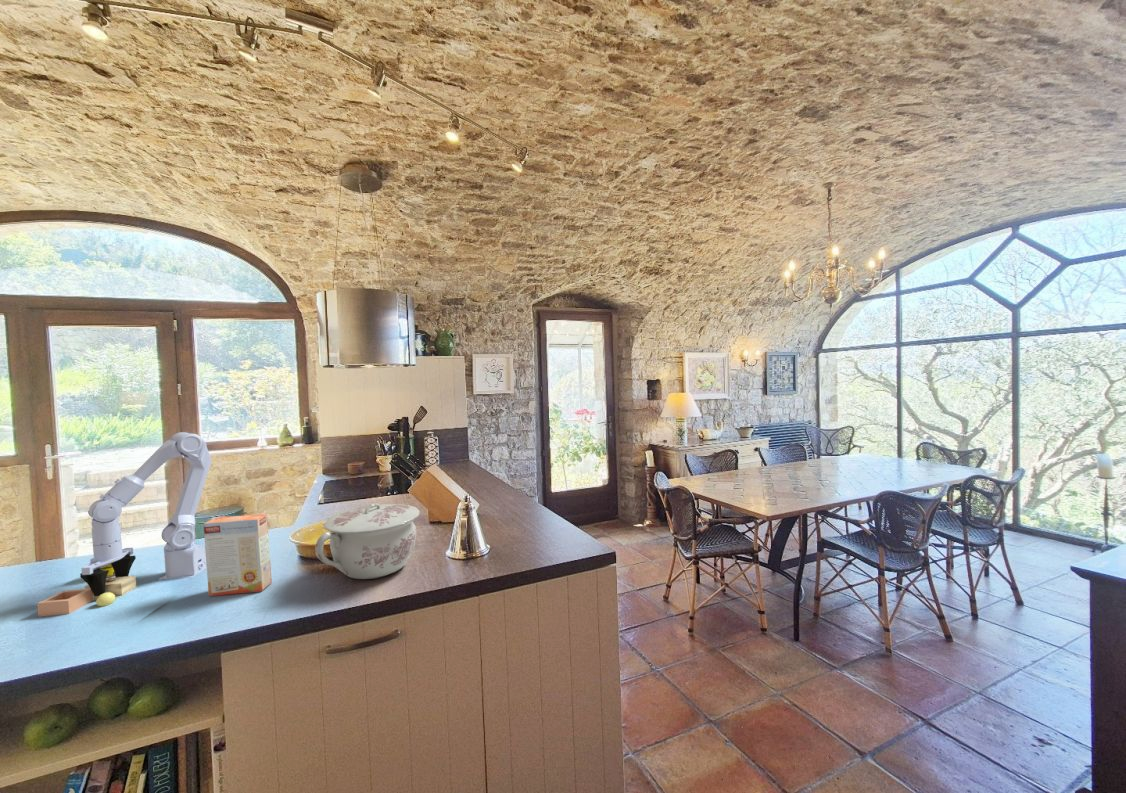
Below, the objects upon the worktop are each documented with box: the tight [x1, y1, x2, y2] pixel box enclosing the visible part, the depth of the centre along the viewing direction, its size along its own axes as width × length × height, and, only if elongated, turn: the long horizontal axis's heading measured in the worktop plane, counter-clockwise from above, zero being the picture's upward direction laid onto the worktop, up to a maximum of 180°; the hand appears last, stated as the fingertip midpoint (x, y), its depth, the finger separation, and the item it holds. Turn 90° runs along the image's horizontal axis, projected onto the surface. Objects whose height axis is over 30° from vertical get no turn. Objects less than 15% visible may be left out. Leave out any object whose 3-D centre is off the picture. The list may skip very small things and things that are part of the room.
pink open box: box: [36, 588, 94, 617], centre depth 121 cm, size 7×7×4 cm
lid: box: [84, 575, 137, 598], centre depth 129 cm, size 9×5×4 cm, turn 98°
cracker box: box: [203, 513, 273, 597], centre depth 130 cm, size 14×6×21 cm, turn 97°
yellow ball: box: [95, 592, 116, 607], centre depth 123 cm, size 4×4×4 cm
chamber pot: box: [314, 502, 421, 580], centre depth 140 cm, size 28×28×21 cm
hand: (111, 589), depth 129 cm, fingers open, 7 cm apart
